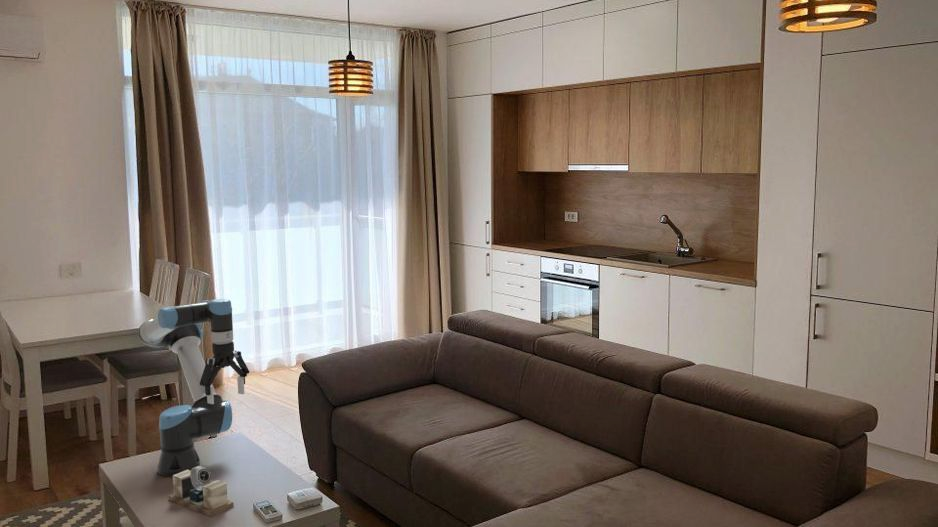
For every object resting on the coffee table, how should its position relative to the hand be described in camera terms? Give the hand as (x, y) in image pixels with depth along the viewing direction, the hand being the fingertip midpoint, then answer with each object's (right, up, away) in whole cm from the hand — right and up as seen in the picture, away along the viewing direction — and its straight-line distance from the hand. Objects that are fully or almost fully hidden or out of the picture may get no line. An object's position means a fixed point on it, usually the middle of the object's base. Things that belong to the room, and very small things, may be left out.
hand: (226, 398), depth 285 cm
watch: (-2, -30, -21) cm, 37 cm away
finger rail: (-2, -32, -21) cm, 38 cm away
